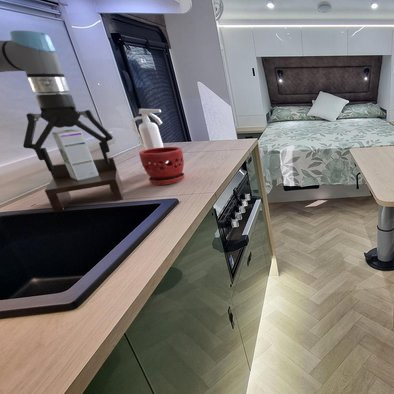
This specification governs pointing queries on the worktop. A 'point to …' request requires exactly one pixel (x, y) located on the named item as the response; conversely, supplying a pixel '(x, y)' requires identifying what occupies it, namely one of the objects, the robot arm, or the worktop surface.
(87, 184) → the bench
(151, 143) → the fire extinguisher
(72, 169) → the syrup box
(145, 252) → the worktop surface
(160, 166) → the flower pot
